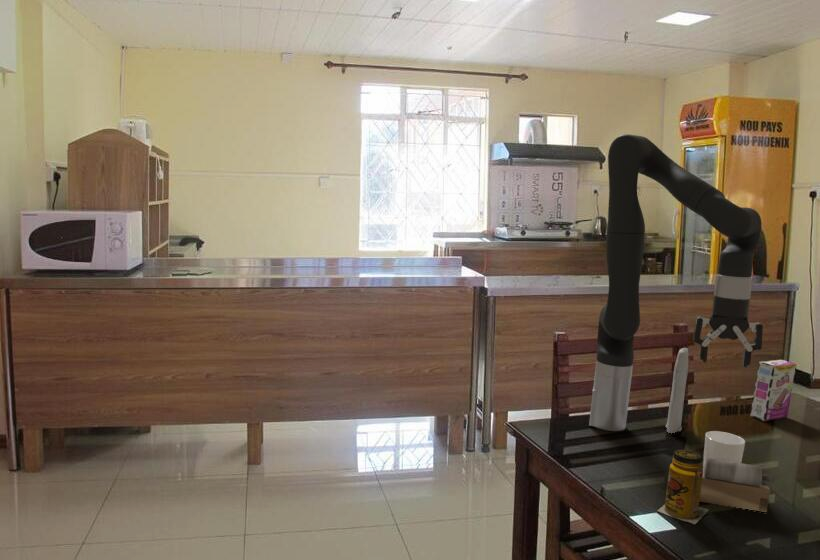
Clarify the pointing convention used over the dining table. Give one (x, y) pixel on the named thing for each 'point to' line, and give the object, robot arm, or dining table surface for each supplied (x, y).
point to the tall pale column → (678, 392)
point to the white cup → (723, 447)
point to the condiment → (684, 487)
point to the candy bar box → (773, 390)
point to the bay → (734, 485)
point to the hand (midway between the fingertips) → (724, 364)
